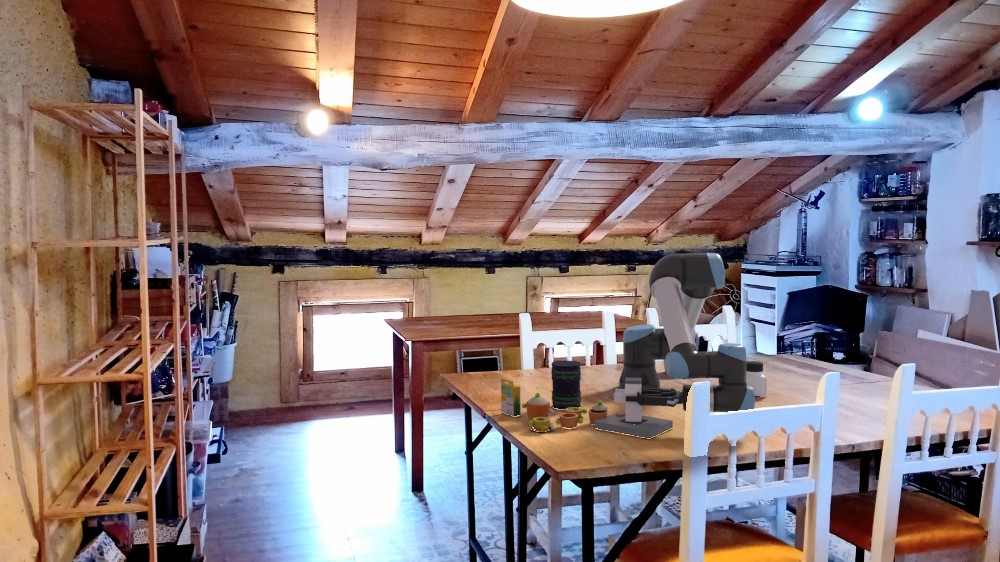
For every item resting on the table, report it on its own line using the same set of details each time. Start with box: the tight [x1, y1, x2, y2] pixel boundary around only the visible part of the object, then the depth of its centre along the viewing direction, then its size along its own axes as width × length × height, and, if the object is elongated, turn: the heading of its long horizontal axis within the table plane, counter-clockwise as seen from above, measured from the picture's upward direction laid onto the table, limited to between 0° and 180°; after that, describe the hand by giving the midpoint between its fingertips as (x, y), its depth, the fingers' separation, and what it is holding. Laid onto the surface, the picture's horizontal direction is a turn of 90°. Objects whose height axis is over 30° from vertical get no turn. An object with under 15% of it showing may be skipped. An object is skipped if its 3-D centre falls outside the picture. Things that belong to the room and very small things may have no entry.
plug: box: [624, 377, 643, 422], centre depth 201 cm, size 4×4×12 cm
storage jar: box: [550, 360, 582, 409], centre depth 229 cm, size 10×10×15 cm
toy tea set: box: [521, 392, 609, 431], centre depth 209 cm, size 26×16×10 cm, turn 105°
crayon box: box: [500, 377, 521, 416], centre depth 221 cm, size 7×3×12 cm, turn 32°
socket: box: [594, 411, 674, 438], centre depth 202 cm, size 18×14×3 cm
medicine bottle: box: [746, 360, 767, 398], centre depth 241 cm, size 7×7×12 cm
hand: (615, 395), depth 202 cm, fingers closed on plug, 4 cm apart
